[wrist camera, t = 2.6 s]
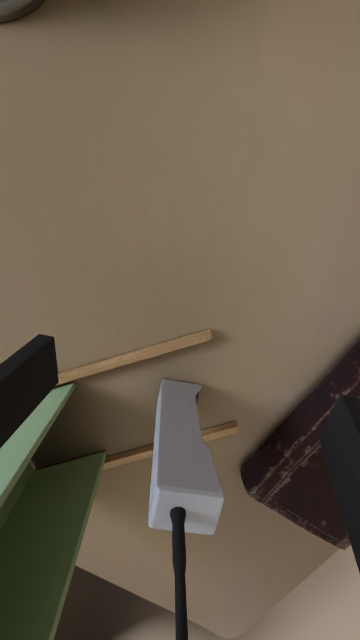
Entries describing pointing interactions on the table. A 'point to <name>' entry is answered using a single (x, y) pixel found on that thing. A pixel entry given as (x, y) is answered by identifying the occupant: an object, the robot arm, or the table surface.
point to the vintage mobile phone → (182, 481)
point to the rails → (135, 357)
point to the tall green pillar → (40, 525)
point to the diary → (305, 461)
